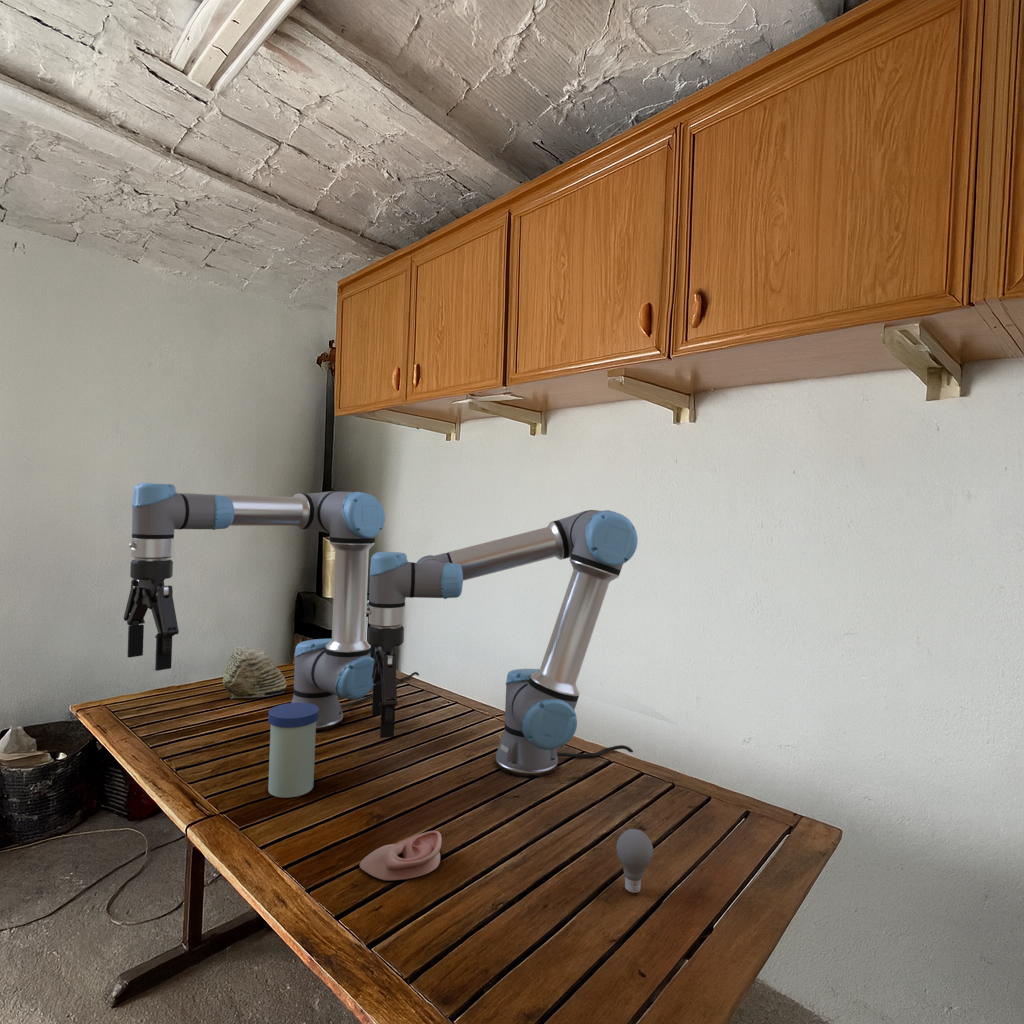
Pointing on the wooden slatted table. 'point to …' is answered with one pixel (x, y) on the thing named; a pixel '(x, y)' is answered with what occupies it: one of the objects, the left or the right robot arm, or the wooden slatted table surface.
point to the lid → (293, 715)
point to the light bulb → (634, 857)
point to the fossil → (252, 674)
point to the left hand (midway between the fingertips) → (148, 662)
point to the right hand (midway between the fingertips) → (382, 725)
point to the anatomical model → (405, 858)
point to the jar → (291, 760)
